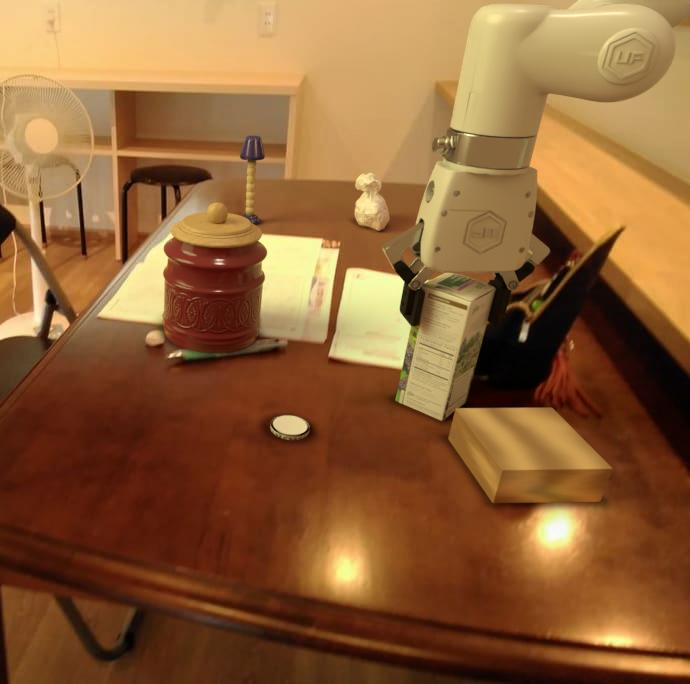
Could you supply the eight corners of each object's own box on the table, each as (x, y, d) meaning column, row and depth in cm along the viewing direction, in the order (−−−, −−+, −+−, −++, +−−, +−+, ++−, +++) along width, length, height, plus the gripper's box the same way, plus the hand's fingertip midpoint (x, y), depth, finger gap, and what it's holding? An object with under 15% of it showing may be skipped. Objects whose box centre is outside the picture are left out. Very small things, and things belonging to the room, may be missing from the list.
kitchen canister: (188, 363, 84) (193, 223, 76) (146, 321, 94) (147, 194, 86) (278, 345, 89) (292, 211, 81) (229, 307, 99) (237, 185, 91)
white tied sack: (366, 227, 142) (337, 181, 140) (400, 207, 139) (371, 160, 136) (367, 245, 132) (336, 196, 129) (403, 224, 129) (373, 174, 126)
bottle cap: (279, 415, 74) (279, 410, 73) (314, 426, 72) (315, 421, 72) (263, 433, 71) (264, 428, 70) (300, 445, 69) (301, 440, 69)
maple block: (541, 439, 71) (552, 407, 69) (599, 504, 62) (613, 468, 60) (447, 440, 70) (455, 407, 69) (492, 506, 62) (502, 470, 60)
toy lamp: (232, 224, 135) (238, 137, 127) (240, 218, 138) (245, 133, 131) (256, 228, 133) (263, 139, 125) (263, 221, 137) (270, 135, 129)
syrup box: (419, 385, 80) (443, 269, 74) (467, 405, 77) (497, 284, 70) (394, 403, 77) (416, 282, 70) (444, 424, 73) (473, 299, 66)
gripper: (411, 158, 60) (379, 337, 68) (602, 161, 61) (549, 336, 69) (383, 141, 67) (358, 306, 75) (556, 144, 68) (513, 306, 76)
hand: (450, 319), depth 72 cm, fingers closed on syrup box, 8 cm apart
